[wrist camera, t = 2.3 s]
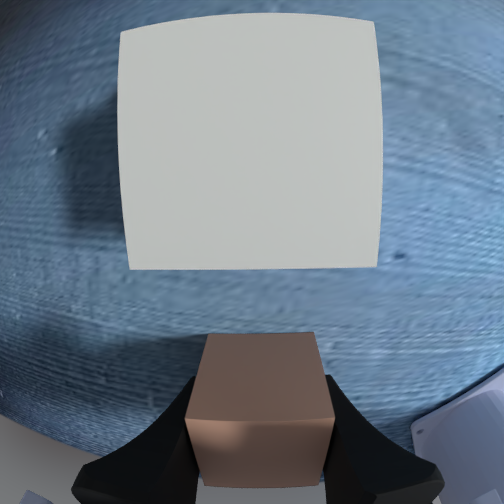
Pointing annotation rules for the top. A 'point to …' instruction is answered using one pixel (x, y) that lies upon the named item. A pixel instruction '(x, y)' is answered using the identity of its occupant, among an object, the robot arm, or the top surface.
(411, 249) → the top surface
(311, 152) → the tower top slab
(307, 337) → the terracotta block
